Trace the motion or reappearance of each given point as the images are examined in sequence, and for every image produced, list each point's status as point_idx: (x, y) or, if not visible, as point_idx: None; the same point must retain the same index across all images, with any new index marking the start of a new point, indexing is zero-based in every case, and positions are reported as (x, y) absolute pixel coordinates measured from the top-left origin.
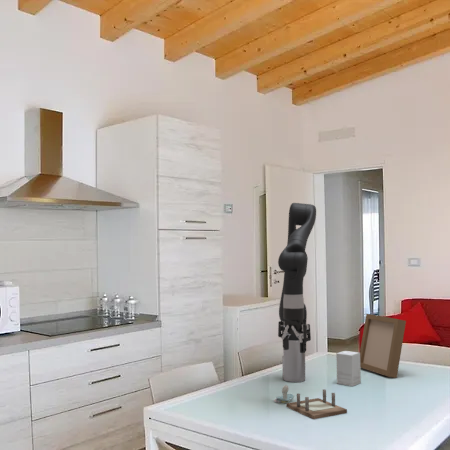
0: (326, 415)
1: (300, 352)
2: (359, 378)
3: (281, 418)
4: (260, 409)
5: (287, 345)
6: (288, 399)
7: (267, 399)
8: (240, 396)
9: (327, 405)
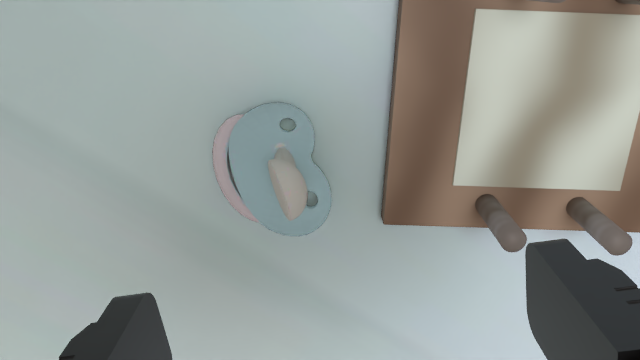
0: None
1: (536, 326)
2: None
3: (529, 345)
4: (341, 352)
5: (135, 357)
6: (299, 147)
7: (185, 222)
8: (54, 318)
9: (599, 31)
